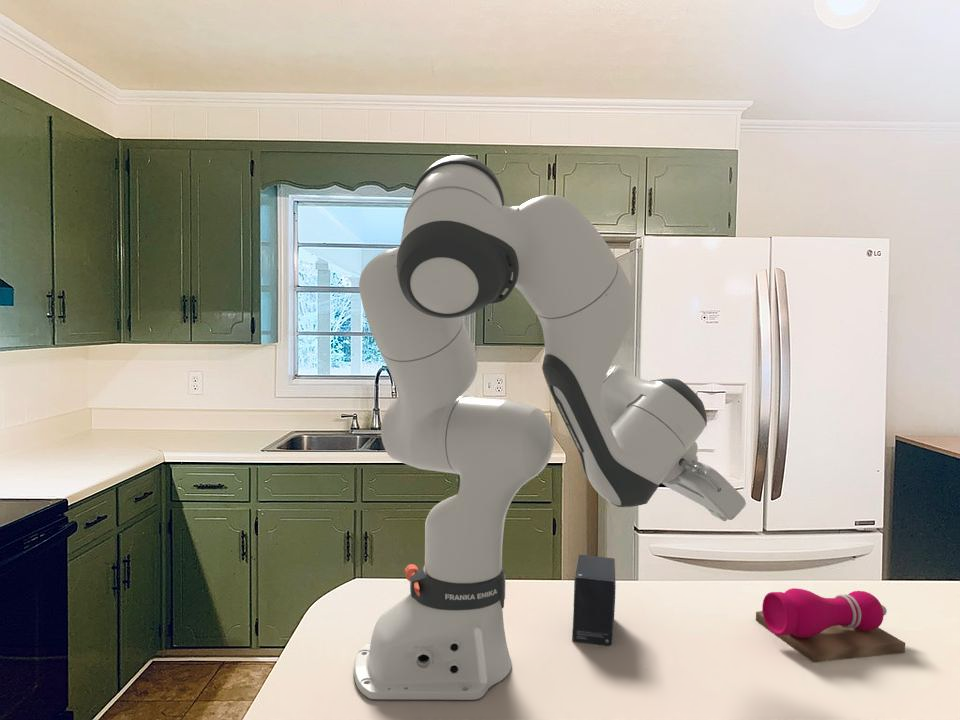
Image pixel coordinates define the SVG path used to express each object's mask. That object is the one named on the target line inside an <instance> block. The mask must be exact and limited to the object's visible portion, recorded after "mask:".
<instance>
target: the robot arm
mask: <svg viewBox="0 0 960 720" xmlns="http://www.w3.org/2000/svg"><path fill="white" fill-rule="evenodd" d="M503 193H504V192H503V190H502V186H501V184H500V182H499V180H498V178H497V177H496V174H495V173H494V171H493V170H491V169H490V167H488V165H486V164H485V163H484V162H482V161H480V160H479V159H477V158H476V157H475V158H474V157H471V156H469V155H462V154H461V155H459V154H455V155H449V156H446V157H443V158H441V159H439V160H437V161H435V162H434V163H433V164H431V165H430V166H429V167H428V168H427V169H425V171H424V173H423V174H422V175H421V177H420V178H419V179H418V181H417V182H416V185H415V187H414V191H413V194H412V198H411V200H410V202H409V205H408V207H407V210H406V212H405V215H404V219H403V220H404V221H403V229H402V231H401V233H402V235H401V238H400V239H401V240H400V245H399V246H398V247H394V248H390V249H388V250H386V251H383V252H380V254H377V255H376V256H375V257H373V258H372V259H371V260H369V262H367V264H366V265H365V267H364V268H363V270H362V272H361V274H360V278H359V281H358V288H359V295H360V299H361V303H362V307H363V308H362V309H363V310H364V314H365V317H366V320H367V324H368V327H369V330H370V332H371V334H372V335H371V336H372V338H373V340H374V342H375V344H376V346H377V348H378V351H379V352H380V355H381V356H382V358H383V360H384V363H385V366H386V367H387V370H388V371H389V373H390V376H391V378H392V381H393V383H394V385H395V388H396V392H397V398H396V399H395V400H393V401H392V402H391V403H390V405H389V406H388V408H387V409H386V411H385V413H384V415H383V417H382V421H381V427H380V437H381V443H382V445H383V448H384V450H385V452H386V454H387V456H389V457H390V458H391V459H393V460H394V461H397V462H399V463H402V464H405V465H407V466H410V467H414V468H416V469H419V470H425V471H434V472H441V473H447V474H448V473H449V474H455V475H459V477H460V478H459V486H458V487H459V488H458V492H457V494H455V495H452V496H450V497H447V498H446V499H443V500H441V501H439V503H437V504H435V505H434V506H433V507H432V509H430V511H429V512H428V514H427V517H426V519H425V523H424V565H423V566H422V567H421V568H420V569H419V568H418V566H417V565H416V564H413V563H412V564H411V563H410V564H408V565H406V567H405V568H404V575H405V578H406V580H407V581H409V584H410V585H409V588H410V591H409V594H407V596H405V597H404V598H402V600H400V601H399V602H397V603H396V604H395V605H393V606H392V607H390V608H389V609H388V610H387V611H385V612H384V613H383V614H381V615H380V616H379V617H378V619H377V621H376V622H375V625H374V628H373V631H372V635H371V639H370V642H369V643H366V644H364V645H362V647H361V648H360V649H359V650H358V652H357V653H356V656H355V659H354V664H353V665H354V666H353V677H354V682H355V684H356V687H357V688H358V690H359V691H360V693H361V694H362V695H364V696H365V697H367V698H368V699H371V700H435V701H436V700H440V701H441V700H443V701H444V700H449V701H450V700H458V701H459V700H460V701H461V700H462V701H463V700H464V701H465V700H467V701H468V700H469V701H471V700H472V701H473V700H479V699H481V698H483V696H485V694H486V693H487V692H488V690H489V689H490V688H491V687H492V686H493V685H495V684H498V683H499V682H501V681H502V680H504V679H505V678H506V677H507V676H508V675H509V673H510V672H511V670H512V658H511V656H510V652H509V648H508V644H507V638H506V631H505V624H504V614H503V612H504V611H503V609H504V607H505V599H506V576H505V569H504V568H503V543H504V542H503V539H504V529H505V521H506V518H507V513H508V510H509V509H510V508H509V507H510V506H511V503H512V501H513V499H514V498H515V496H516V494H517V493H518V492H519V490H520V489H521V488H522V487H523V486H524V485H525V484H527V483H528V482H529V481H531V480H532V479H534V478H535V477H536V476H538V475H540V474H541V472H542V471H543V470H544V469H545V468H546V466H547V465H548V463H549V461H550V459H551V457H552V454H553V450H554V446H555V445H554V444H555V443H554V439H555V438H554V430H553V428H552V424H551V422H550V420H549V418H548V416H547V415H546V414H545V412H544V411H543V410H542V409H540V408H539V407H536V406H532V405H529V404H526V403H523V402H519V401H517V400H516V401H515V400H511V399H506V398H505V399H503V398H489V397H477V396H475V397H474V396H469V395H464V393H466V391H468V389H469V388H470V387H471V386H472V384H473V382H474V381H475V378H476V375H477V372H478V371H477V370H478V356H477V354H476V351H475V349H474V346H473V345H474V344H473V343H472V340H471V337H470V334H469V333H468V329H467V326H466V324H465V321H464V319H463V317H465V316H468V315H471V314H474V313H476V312H479V311H480V310H482V309H484V308H485V307H488V305H490V304H497V303H502V302H503V301H504V300H506V299H507V298H509V295H510V294H511V293H512V292H513V290H514V288H516V289H517V291H519V293H520V294H521V295H522V296H523V297H524V299H525V300H526V302H527V303H528V304H529V306H530V307H531V309H532V310H533V312H534V313H535V315H536V316H537V318H538V320H539V323H540V326H541V329H542V333H543V334H542V335H543V341H544V356H543V361H542V366H541V369H542V373H543V375H544V376H543V377H544V379H545V382H546V384H547V387H548V390H549V391H550V394H551V397H552V399H553V400H554V403H555V406H556V407H557V410H558V411H559V414H560V416H561V418H562V420H563V422H564V424H565V427H566V428H567V430H568V433H569V435H570V437H571V440H572V441H573V443H574V445H575V447H576V449H577V451H578V454H579V456H580V460H581V464H582V469H583V472H584V473H585V477H586V478H587V479H588V481H589V483H590V484H591V486H592V488H594V490H595V491H596V492H597V494H599V495H600V496H601V497H602V498H603V499H605V500H606V501H607V502H609V503H611V504H612V505H614V506H616V507H617V508H618V507H619V508H631V507H637V506H643V505H646V504H648V502H649V501H650V500H651V498H652V497H653V495H654V494H655V493H656V491H657V490H658V488H659V487H660V484H662V485H664V486H665V487H667V488H668V489H671V490H672V491H674V492H676V493H678V494H680V495H681V496H683V497H685V498H687V499H689V500H691V501H693V502H695V503H697V504H699V505H700V506H702V507H703V508H705V509H706V510H707V511H708V512H709V513H710V514H711V515H712V516H714V517H715V518H717V519H719V520H720V521H723V522H727V520H729V521H732V520H733V519H735V518H736V517H737V516H738V515H739V514H740V513H741V512H742V510H744V508H745V507H746V505H747V501H746V500H745V498H744V497H743V496H742V494H741V493H740V492H739V491H738V490H737V489H736V488H735V487H734V486H733V485H732V484H731V483H730V482H729V481H728V480H727V479H726V478H725V477H724V476H723V475H722V474H720V473H719V472H718V471H717V469H715V468H713V467H711V466H710V465H708V464H705V463H702V462H700V461H699V460H698V459H699V458H698V455H697V453H698V450H699V449H698V443H697V442H696V441H697V440H698V439H699V437H700V435H701V434H702V433H703V431H704V430H705V428H706V427H707V423H708V418H707V412H706V408H705V405H704V402H703V401H702V398H701V399H700V397H699V396H698V395H697V394H696V392H694V390H692V388H691V387H689V386H688V385H687V384H686V383H685V382H683V381H682V380H680V379H677V378H659V379H654V380H653V379H651V380H648V379H647V380H646V379H643V378H640V377H638V376H636V375H634V374H632V373H631V372H630V371H628V370H627V369H626V368H625V367H624V366H622V365H620V364H614V365H612V363H613V361H614V359H615V358H616V356H617V354H618V352H619V350H620V348H621V347H622V345H623V343H624V341H625V340H626V339H627V336H628V334H629V332H630V329H631V326H632V323H633V319H634V315H635V299H634V298H635V297H634V293H633V290H632V287H631V283H630V281H629V279H628V276H627V275H626V273H625V271H624V269H623V268H622V266H621V264H620V263H619V262H618V259H617V258H616V256H615V254H614V252H613V251H612V250H611V248H610V247H609V244H607V242H606V240H605V239H604V238H603V236H602V235H601V233H600V232H599V231H598V230H597V228H596V227H595V226H594V224H592V222H591V221H590V220H589V219H588V217H587V216H586V215H585V214H584V213H583V212H582V211H581V210H580V209H579V208H578V207H577V206H576V205H575V204H574V203H573V202H572V201H571V200H569V199H568V198H566V197H564V196H560V195H555V194H546V195H541V196H537V197H534V198H532V199H529V200H527V201H526V202H524V203H522V204H521V205H516V206H507V205H505V198H504V194H503ZM506 289H508V290H507V291H506V293H504V291H505V290H506ZM503 293H504V294H503Z"/></svg>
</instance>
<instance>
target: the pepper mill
mask: <svg viewBox="0 0 960 720" xmlns="http://www.w3.org/2000/svg"><path fill="white" fill-rule="evenodd" d="M761 605H762V606H761V608H762V610H761V611H763V617H764V620H765V623H766V625H767V627H768V628H769V630H770V631H769V632H771V633H772V634H773V635H775V636H776V635H791V634H793V635H794V636H796V637H799V638H807V637H812V636H815V635H817V634H819V633H821V632H822V631H824V630H825V629H827V628H829V627H832V626H837V625H840V626H841V627H843V628H856V629H858V630H861V631H871V630H874V629H876V628H878V627H879V628H880V626H881V625H882V623H883V621H884V617H885V615H887V607H886V606H884V605H882V603H881V602H880V601H879V599H878V598H877V597H876V596H874V594H872V593H870V592H867V591H865V590H864V591H863V590H854V591H852V592H849V593H848V594H837V595H836V596H834V597H823V596H820V595H819V594H816V593H814V592H812V591H810V590H808V589H804V588H796V587H795V588H789V589H787V590H786V591H783V592H782V591H771V592H768V593H767V594H766V595H765V596H764V598H763V600H762V604H761Z"/></svg>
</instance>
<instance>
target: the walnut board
mask: <svg viewBox="0 0 960 720" xmlns="http://www.w3.org/2000/svg"><path fill="white" fill-rule="evenodd" d="M755 621H756V622H757V623H758V624H760V625H761V626H763V627H764V628H766V629H767V630H769V628H768V627H767V625H766V623H765V620H764V617H763V611H762V610H760V611H755ZM769 632H771V631H770V630H769ZM775 636H776V637H778V638H779V639H780V640H782V642H785V643H786V644H787V645H788V646H790V647H791V648H793V649H794V650H795V651H796V652H798V653H800V655H802V656H804V657H805V658H806V659H808V660H809V661H810V662H812V663H819V662H829V661H831V662H832V661H839V660H847V659H855V658H856V659H857V658H858V659H859V658H866V657H876V656H885V655H895V654H896V655H897V654H904V653H906V642H904V641H903V640H901V639H899V638H898V637H896V636H895V635H893V634H891V633H889V632H888V631H885V630H884V629H882V628H881V627H880V626H879V627H878V628H876V629H874V630H871V631H861V630H858V629H856V628H843V627H841V626H840V625H837V626H832V627H829V628H827V629H825V630H824V631H822V632H821V633H819V634H817V635H815V636H812V637H807V638H799V637H796V636H794V635H793V634H791V635H775Z"/></svg>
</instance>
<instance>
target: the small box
mask: <svg viewBox="0 0 960 720" xmlns="http://www.w3.org/2000/svg"><path fill="white" fill-rule="evenodd" d="M573 580H574V581H573V582H574V584H573V585H574V586H573V587H574V588H573V617H572V632H571V633H572V636H571V641H572V642H578V643H587V644H594V645H595V644H596V645H604V646H611V645H612V643H613V634H614V623H615V611H616V608H615V607H616V587H617V585H616V560H615V558H613V557H606V556H595V555H586V554H578V558H577V561H576V567H575V574H574V579H573Z"/></svg>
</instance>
